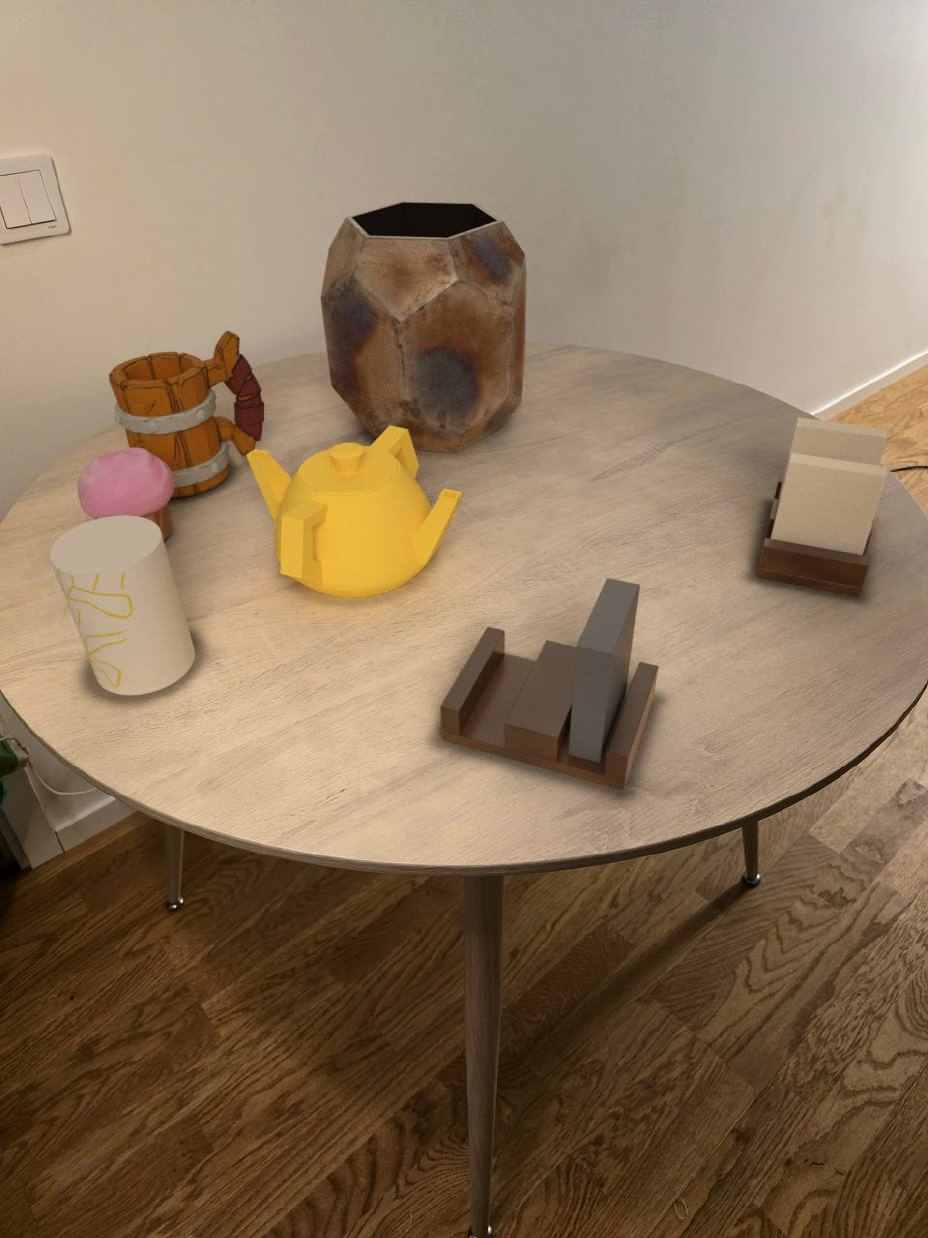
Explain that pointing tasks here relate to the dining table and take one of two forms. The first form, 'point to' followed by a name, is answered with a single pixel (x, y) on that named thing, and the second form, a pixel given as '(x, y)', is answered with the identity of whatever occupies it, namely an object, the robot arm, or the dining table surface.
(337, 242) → the planter
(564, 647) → the rack
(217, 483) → the mug
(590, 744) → the grey book
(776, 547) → the rack
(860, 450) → the white book
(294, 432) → the dining table surface
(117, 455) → the cupcake
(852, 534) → the white book
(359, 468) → the teapot
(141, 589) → the cup
